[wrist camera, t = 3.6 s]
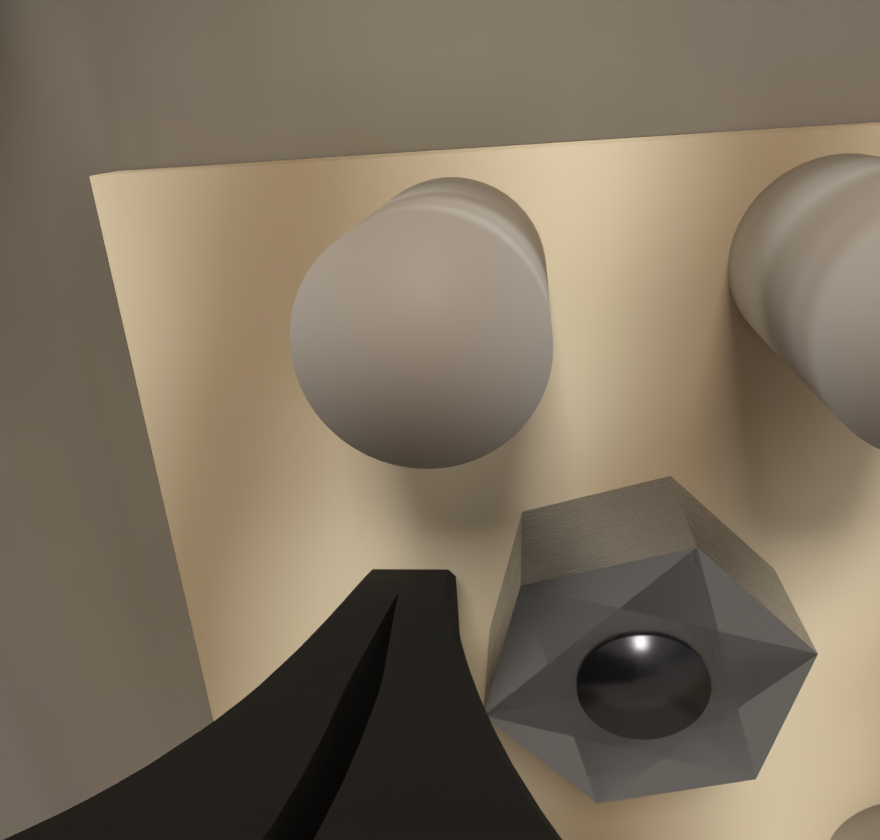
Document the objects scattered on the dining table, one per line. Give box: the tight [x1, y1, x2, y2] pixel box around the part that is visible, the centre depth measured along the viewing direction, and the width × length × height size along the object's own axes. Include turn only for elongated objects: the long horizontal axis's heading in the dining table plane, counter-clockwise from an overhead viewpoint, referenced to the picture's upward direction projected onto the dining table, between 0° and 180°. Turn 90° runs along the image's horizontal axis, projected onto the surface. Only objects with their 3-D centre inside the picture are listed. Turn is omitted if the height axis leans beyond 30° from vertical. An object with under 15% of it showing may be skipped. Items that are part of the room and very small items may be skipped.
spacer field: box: [90, 122, 880, 840], centre depth 11 cm, size 16×14×4 cm
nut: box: [484, 476, 818, 804], centre depth 12 cm, size 5×4×2 cm
